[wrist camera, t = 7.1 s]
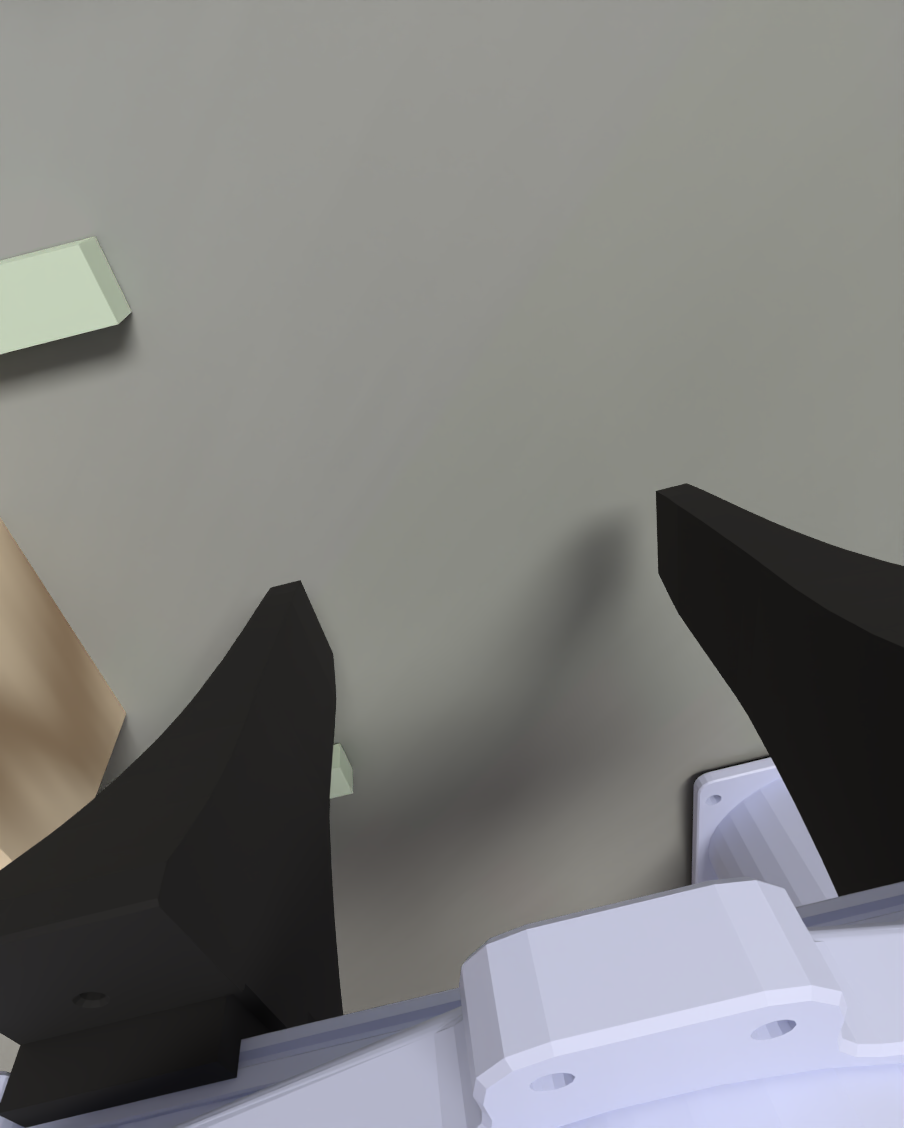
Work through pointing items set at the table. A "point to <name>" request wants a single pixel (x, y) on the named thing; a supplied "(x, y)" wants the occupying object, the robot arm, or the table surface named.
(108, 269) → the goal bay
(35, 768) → the block
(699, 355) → the table surface
